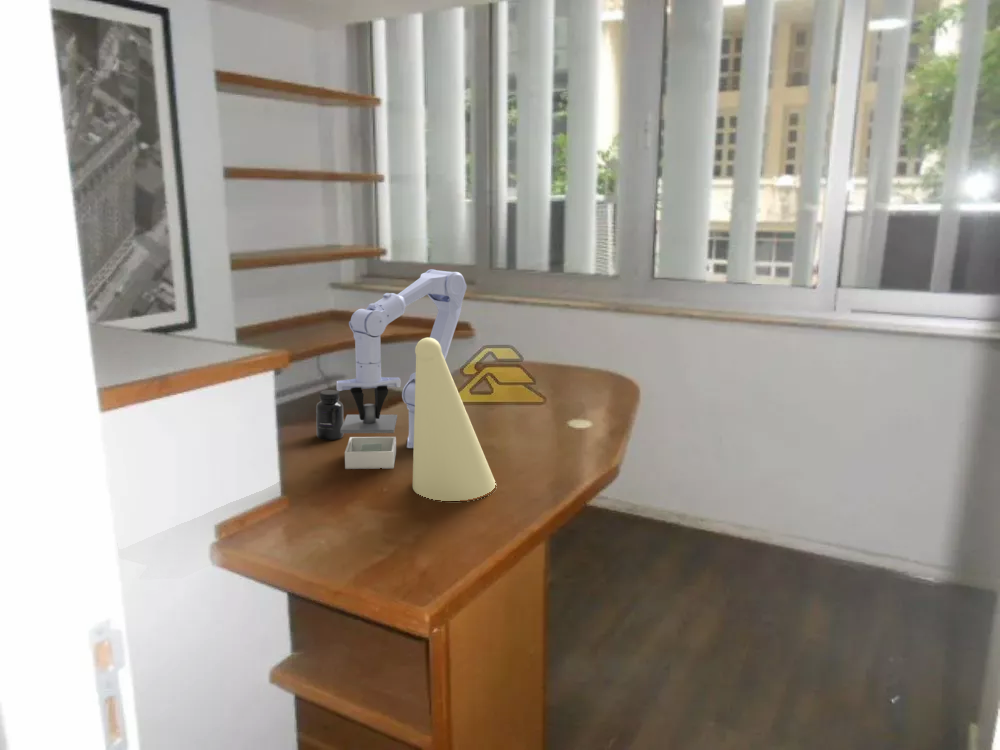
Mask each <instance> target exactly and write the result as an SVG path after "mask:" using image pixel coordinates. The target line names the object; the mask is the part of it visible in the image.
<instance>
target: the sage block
mask: <svg viewBox="0 0 1000 750" xmlns="http://www.w3.org/2000/svg"><path fill="white" fill-rule="evenodd" d="M361 451H382V444H362V447H361Z"/></svg>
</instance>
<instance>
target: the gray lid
mask: <svg viewBox="0 0 1000 750" xmlns="http://www.w3.org/2000/svg"><path fill="white" fill-rule="evenodd" d="M363 411H364V420H361V419H360V416H359V414H346V416H345V419H343V425H342V427H341V429H340V433H344V434H394V433H395V430H396V425H397V422H398V421H397V420H398V414H380V418H379V419H376V405H375V403H365V404H364V403H363Z"/></svg>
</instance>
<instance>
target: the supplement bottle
mask: <svg viewBox="0 0 1000 750" xmlns="http://www.w3.org/2000/svg"><path fill="white" fill-rule="evenodd" d="M319 400H320V401H319V402H317V403H316V407H315V412H316V413H315V414H316V415H315V416H316V417H315V418H316V419H315V421H316V437H317V438H318V439H319V440H322V441H336V439H337V440H340V439H342V438H343V437H344V434H345V433H340V429H341V427H342V425H343V423H344V405H343V403H342V402H341V401H340V391H337V389H336V390H334V389H325V390H322V391H320V393H319Z"/></svg>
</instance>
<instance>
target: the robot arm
mask: <svg viewBox="0 0 1000 750" xmlns="http://www.w3.org/2000/svg"><path fill="white" fill-rule="evenodd" d="M467 288H468V285H467V282H466V280H465V278H464V275H463V274H462V273H461V272H458V271H445V270H438V269H437V270H436V269H434V268H431V269H428V270H427V271H425V272H423V273H420V277H419V278H418V279H417V280H415V281H413V282H412V283H411V284H409V285H407V287H406V288H404V289H403V290H401V291H400V292H399V293H397V294H396V293H394V292H391V293H389V292H386V293H384V294H383V295H382V298H380V299H379V300H376V301H375V302H374V303H373V302H371V303H369V304H368V305H367V307H366V308H359V309H357V310H356V311H354V312H353V313H352V315H351V317H350V320H349V321H348V326H349V328H350V330H351V331H352V333H353V339H354V344H355V346H354V347H355V350H354V352H355V353H354V354H355V378H352V379H351V378H350V379H344V380H336V391H338V392H342V391H345V390H346V391H347V390H350V393H351V395H352V397H353V399H354V402H355V404H356V407H357V410H358V415H359V416H360V419H361V420H364V411H363V405H364V395H365V394H364V393H363V390H364V389H374V390H373V391H374V404H375V405H376V419H379V418H380V415H381V412H382V407H383V404H384V402H385V400H386V397H387V396H388V394H389V389H388V388H393V387H395V388H401V384H402V381H401V378H400V377H399V376H397V377H396V376H394V377H392V376H391V377H389V376H388V377H387V376H386V377H384V376H382V356H381V355H382V354H381V353H382V352H381V351H382V349H381V348H382V347H381V345H382V344H381V343H382V342H381V339H382V338H381V335H382V334H384V332H385V330H386V328H387V326H388V325H389V324H390V323H392V322H393V321H395V320H396V319H398V318H400V317H401V316H403V315H404V314H405V312H406V307H408V306H409V305H412V304H414V303H415V302H416V301H418V300H420V299H422V298H424V297H425V296H427V297H429V299H430V300H431V301H432V303H434V305H435V306H436V308H437V314H436V317H435V320H434V323H433V326H432V329H431V333H430V336H429V338H433V339H435V340H437V341H438V343H439V344H440V346H441V351H442V354H443V356H444V359H445V360H446V359H447V356H448V352H449V350H450V347H451V343H452V340H453V337H454V333H455V331H456V328H457V325H458V322H459V319H460V316H461V312H462V306H463V301H464V297H465V294H466V291H467ZM415 378H416V371H414V372H413V373H411V374H410V375H409V379H408V381H407V382H406V384H404V387H403V388H402V392H401V398H402V401H403V402H404V404H405V405H406V409H407V410H408V436H407V442H406V448H407V449H414V415H415Z"/></svg>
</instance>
